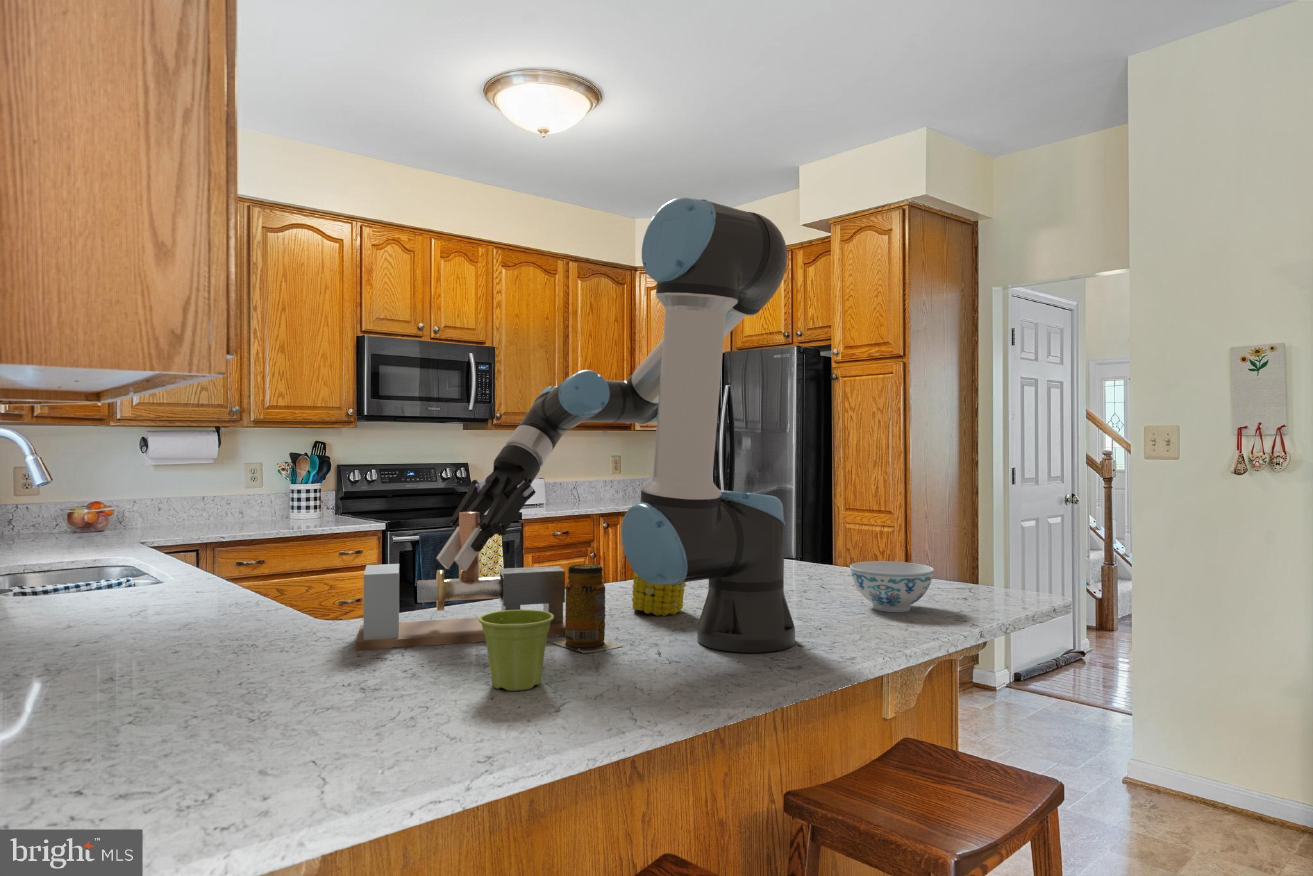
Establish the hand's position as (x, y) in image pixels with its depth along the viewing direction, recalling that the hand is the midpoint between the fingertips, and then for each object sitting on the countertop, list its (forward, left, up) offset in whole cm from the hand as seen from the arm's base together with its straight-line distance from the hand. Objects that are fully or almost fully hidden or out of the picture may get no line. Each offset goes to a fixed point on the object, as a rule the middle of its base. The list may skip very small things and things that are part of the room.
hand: (451, 564), depth 127 cm
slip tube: (+2, -5, -8) cm, 10 cm away
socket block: (+2, +10, -10) cm, 15 cm away
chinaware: (-1, -80, -12) cm, 81 cm away
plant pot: (-28, -7, -12) cm, 31 cm away
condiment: (-11, -20, -12) cm, 25 cm away
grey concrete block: (+2, -13, -10) cm, 17 cm away
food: (+9, -38, -12) cm, 41 cm away
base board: (+2, -2, -12) cm, 12 cm away
